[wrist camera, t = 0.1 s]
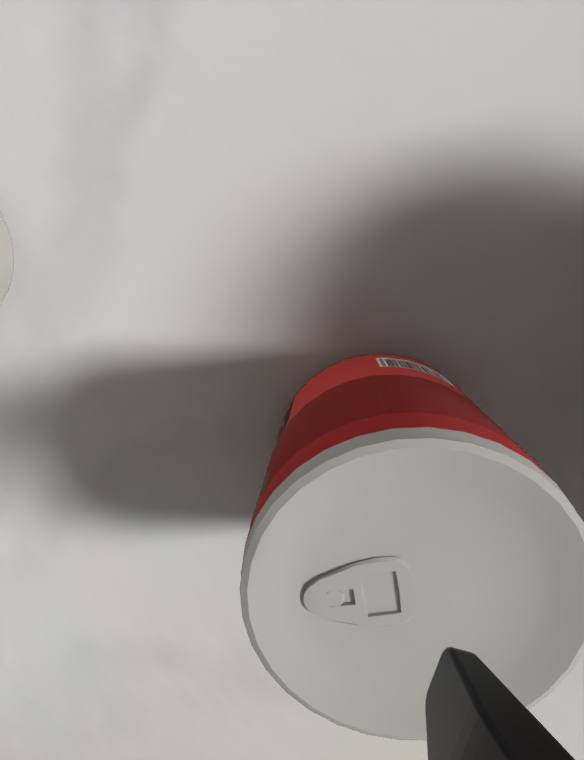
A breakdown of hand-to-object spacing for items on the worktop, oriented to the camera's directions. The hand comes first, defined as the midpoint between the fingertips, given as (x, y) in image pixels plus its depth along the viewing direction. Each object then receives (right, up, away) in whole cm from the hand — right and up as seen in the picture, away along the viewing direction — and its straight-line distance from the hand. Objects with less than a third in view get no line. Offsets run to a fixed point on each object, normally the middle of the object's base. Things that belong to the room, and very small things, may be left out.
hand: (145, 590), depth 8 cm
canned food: (+6, +1, +15) cm, 16 cm away
